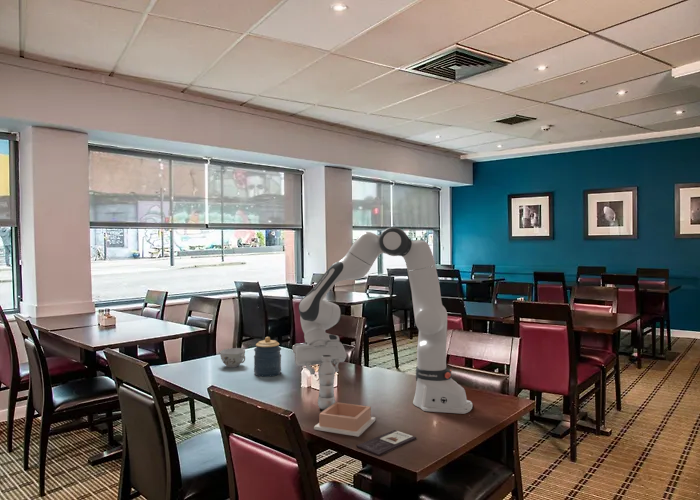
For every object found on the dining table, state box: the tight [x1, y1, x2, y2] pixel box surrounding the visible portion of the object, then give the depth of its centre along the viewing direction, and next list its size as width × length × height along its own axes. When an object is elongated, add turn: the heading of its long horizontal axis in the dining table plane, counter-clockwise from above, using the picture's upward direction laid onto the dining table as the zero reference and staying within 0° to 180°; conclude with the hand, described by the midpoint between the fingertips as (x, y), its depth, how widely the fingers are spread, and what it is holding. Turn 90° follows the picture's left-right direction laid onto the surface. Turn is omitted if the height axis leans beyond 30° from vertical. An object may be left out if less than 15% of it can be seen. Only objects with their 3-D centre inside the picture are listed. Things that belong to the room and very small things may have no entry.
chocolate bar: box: [356, 429, 417, 457], centre depth 152 cm, size 9×1×18 cm
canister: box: [253, 336, 282, 378], centre depth 235 cm, size 13×13×18 cm
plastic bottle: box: [317, 355, 336, 411], centre depth 184 cm, size 6×7×20 cm
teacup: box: [219, 347, 246, 368], centre depth 248 cm, size 15×12×8 cm
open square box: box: [313, 401, 377, 438], centre depth 168 cm, size 16×16×5 cm
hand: (324, 372), depth 186 cm, fingers open, 8 cm apart
